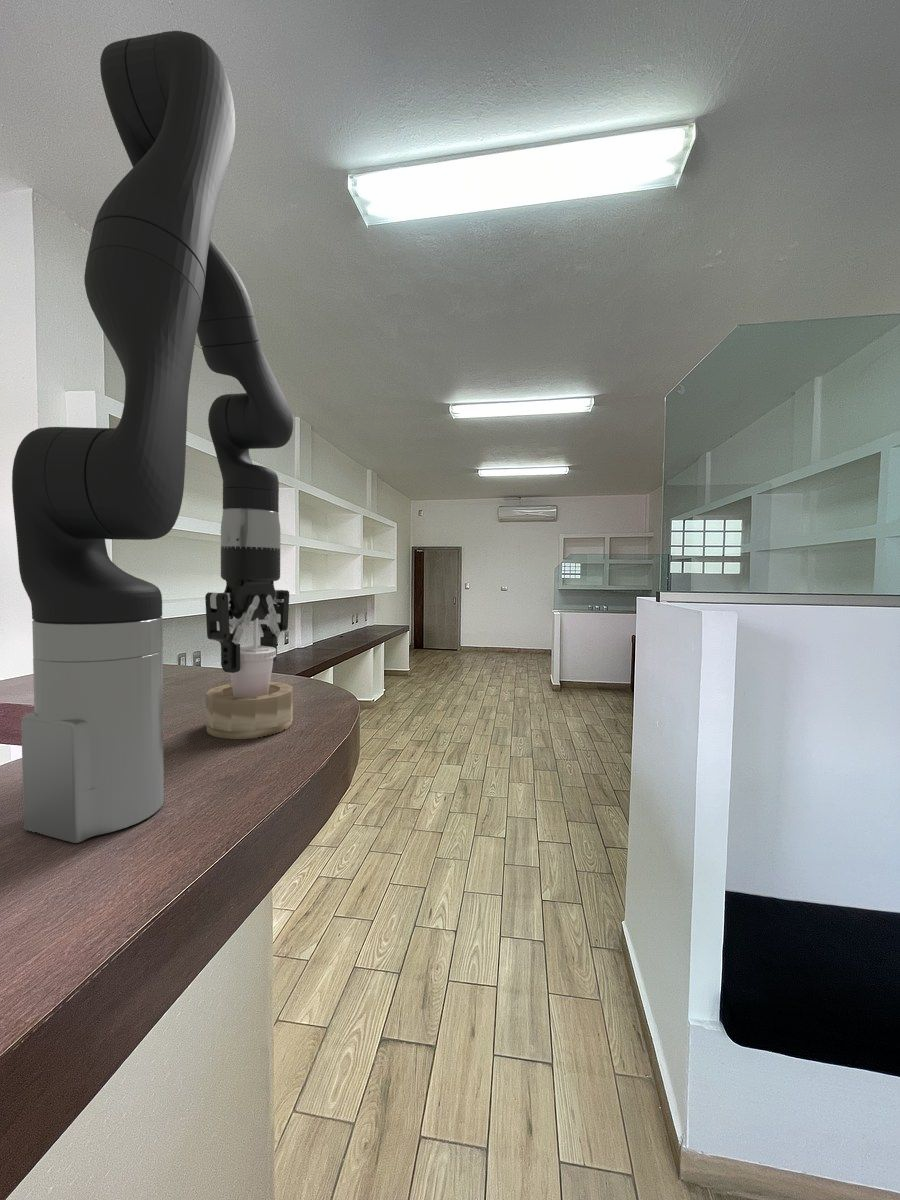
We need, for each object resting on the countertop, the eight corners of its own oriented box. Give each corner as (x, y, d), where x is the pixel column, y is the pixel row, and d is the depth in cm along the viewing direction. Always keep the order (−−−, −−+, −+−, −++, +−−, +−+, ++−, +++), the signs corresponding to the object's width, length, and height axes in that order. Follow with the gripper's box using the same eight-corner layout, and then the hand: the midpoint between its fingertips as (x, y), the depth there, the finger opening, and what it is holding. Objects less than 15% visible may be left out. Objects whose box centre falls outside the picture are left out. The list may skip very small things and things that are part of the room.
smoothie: (264, 727, 67) (266, 621, 66) (216, 724, 67) (217, 619, 66) (281, 712, 73) (283, 616, 72) (237, 710, 73) (238, 614, 72)
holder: (257, 743, 63) (257, 704, 63) (187, 732, 67) (187, 695, 66) (308, 719, 74) (308, 685, 73) (245, 711, 77) (245, 678, 77)
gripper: (235, 542, 61) (235, 680, 62) (306, 548, 74) (304, 661, 75) (186, 542, 63) (187, 674, 64) (263, 547, 77) (262, 657, 78)
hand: (250, 666), depth 70 cm, fingers open, 7 cm apart
